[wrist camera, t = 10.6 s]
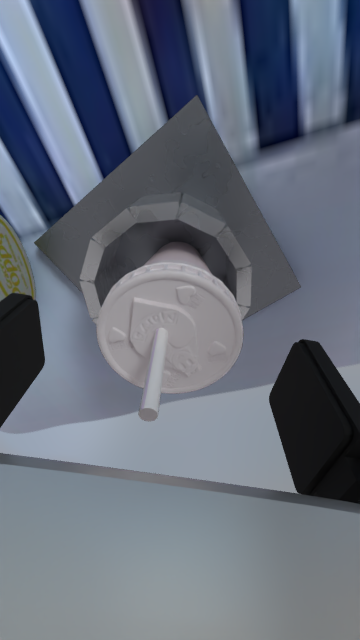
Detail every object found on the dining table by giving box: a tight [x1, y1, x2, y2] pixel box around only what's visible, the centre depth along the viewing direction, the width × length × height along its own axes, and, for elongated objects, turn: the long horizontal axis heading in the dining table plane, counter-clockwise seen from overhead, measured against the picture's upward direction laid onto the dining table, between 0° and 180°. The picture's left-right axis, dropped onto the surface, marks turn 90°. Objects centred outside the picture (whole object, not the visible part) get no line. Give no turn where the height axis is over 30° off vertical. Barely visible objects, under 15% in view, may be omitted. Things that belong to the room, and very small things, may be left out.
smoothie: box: [97, 242, 243, 421], centre depth 14 cm, size 6×6×14 cm
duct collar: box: [34, 95, 301, 325], centre depth 18 cm, size 14×14×6 cm
